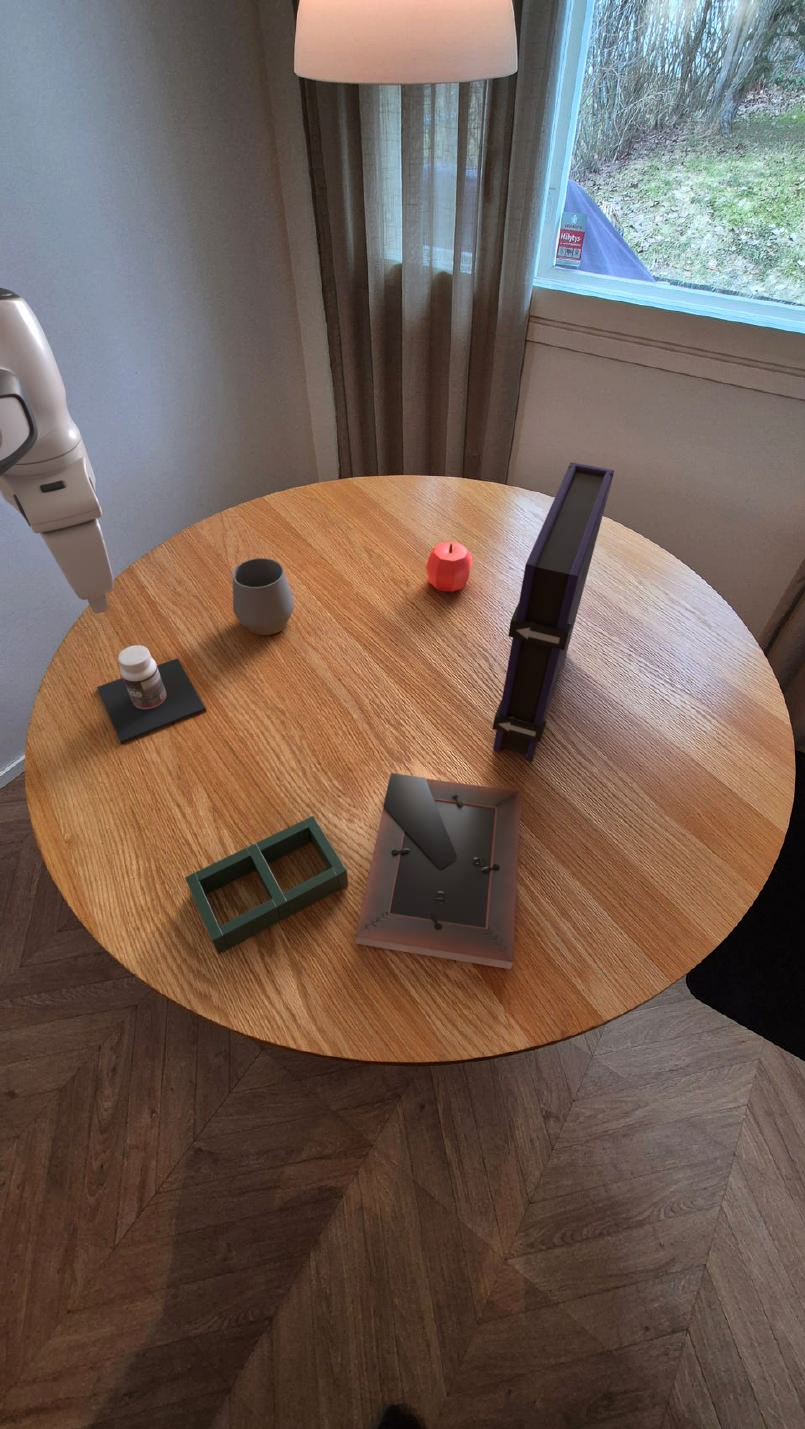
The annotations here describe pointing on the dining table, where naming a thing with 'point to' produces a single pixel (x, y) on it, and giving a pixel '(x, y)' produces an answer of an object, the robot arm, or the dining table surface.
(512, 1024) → the dining table surface
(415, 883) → the picture frame
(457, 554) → the apple
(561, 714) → the dining table surface
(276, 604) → the cup
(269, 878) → the holder
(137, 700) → the pill bottle
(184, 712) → the mat
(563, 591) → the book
